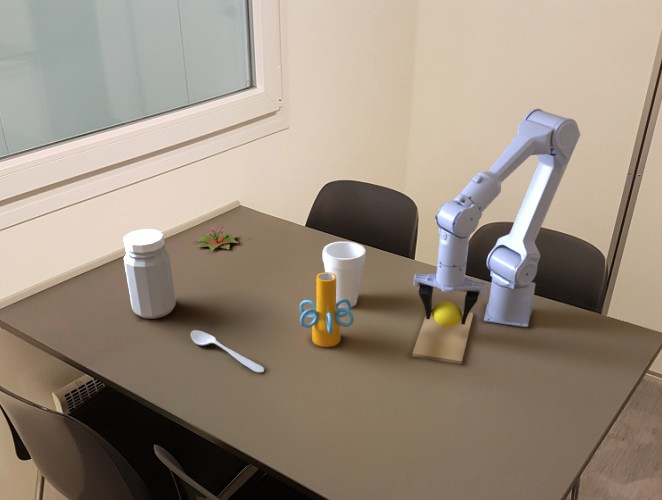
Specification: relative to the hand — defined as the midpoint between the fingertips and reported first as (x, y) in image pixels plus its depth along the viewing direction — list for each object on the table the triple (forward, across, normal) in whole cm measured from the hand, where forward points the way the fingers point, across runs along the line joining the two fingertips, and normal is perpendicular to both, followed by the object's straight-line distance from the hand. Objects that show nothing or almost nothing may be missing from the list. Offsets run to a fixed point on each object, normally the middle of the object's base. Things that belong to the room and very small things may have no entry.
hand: (445, 319), depth 147 cm
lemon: (+2, 0, 0) cm, 2 cm away
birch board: (+4, 0, 0) cm, 4 cm away
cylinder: (+4, -24, -9) cm, 25 cm away
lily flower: (+4, -66, +29) cm, 72 cm away
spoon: (+4, -42, -20) cm, 46 cm away
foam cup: (+4, -24, +8) cm, 26 cm away
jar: (+4, -64, -8) cm, 65 cm away
